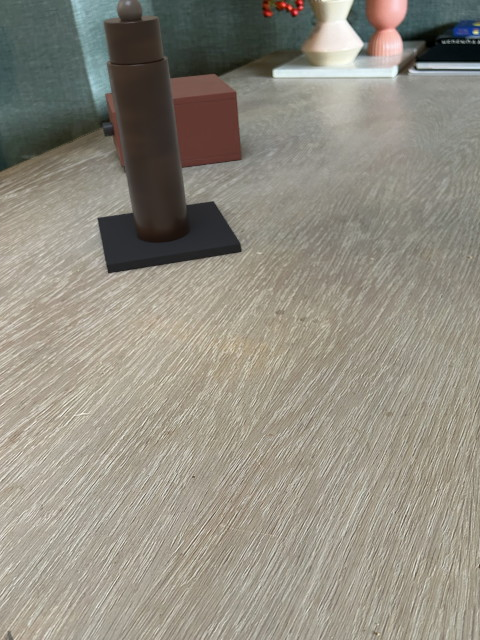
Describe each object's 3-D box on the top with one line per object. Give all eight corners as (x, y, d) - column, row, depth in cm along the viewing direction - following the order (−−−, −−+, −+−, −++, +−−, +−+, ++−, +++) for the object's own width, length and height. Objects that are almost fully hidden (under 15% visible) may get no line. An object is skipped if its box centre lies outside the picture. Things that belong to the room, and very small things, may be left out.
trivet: (108, 273, 58) (106, 264, 58) (98, 225, 68) (97, 217, 68) (241, 251, 61) (240, 243, 60) (214, 208, 71) (213, 200, 70)
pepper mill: (139, 246, 61) (97, 1, 50) (133, 226, 65) (93, -4, 54) (194, 237, 62) (163, -4, 51) (184, 219, 66) (155, -9, 55)
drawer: (111, 167, 81) (101, 113, 78) (104, 143, 90) (95, 94, 87) (222, 153, 84) (217, 100, 80) (204, 131, 93) (199, 83, 90)
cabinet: (133, 173, 82) (121, 103, 77) (123, 147, 92) (112, 84, 87) (241, 159, 85) (236, 91, 80) (220, 135, 95) (214, 73, 90)
